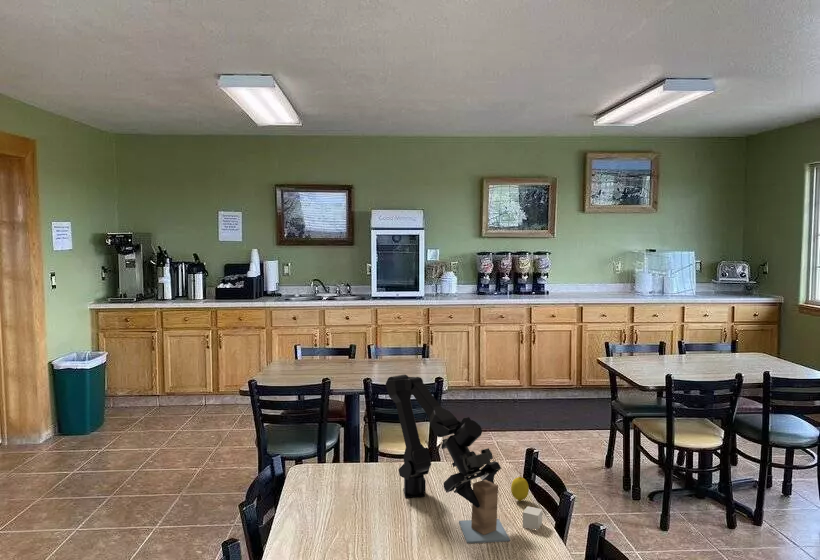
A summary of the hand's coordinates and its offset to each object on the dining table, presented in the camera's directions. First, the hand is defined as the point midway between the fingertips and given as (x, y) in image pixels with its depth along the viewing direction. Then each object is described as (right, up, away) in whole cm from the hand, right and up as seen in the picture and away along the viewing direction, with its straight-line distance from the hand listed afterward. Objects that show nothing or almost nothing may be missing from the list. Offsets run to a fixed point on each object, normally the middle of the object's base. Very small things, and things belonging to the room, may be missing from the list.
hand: (487, 503), depth 162 cm
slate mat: (-1, -8, +2) cm, 9 cm away
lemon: (+13, -8, +21) cm, 26 cm away
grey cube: (+14, -8, +5) cm, 17 cm away
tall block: (-1, -8, +2) cm, 8 cm away
